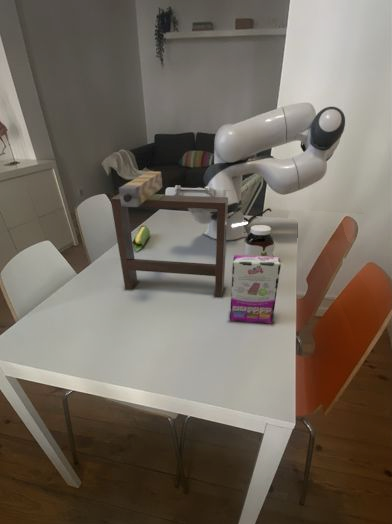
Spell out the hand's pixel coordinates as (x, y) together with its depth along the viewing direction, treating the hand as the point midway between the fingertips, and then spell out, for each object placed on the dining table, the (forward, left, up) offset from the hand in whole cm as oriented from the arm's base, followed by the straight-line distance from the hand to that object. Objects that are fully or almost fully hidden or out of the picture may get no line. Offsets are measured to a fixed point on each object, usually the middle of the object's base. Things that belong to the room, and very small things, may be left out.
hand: (192, 188), depth 99 cm
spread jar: (-8, +23, -25) cm, 35 cm away
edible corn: (-17, -25, -25) cm, 39 cm away
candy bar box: (+33, +22, -25) cm, 47 cm away
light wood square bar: (+20, -9, +2) cm, 22 cm away
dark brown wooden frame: (+20, -2, -24) cm, 32 cm away
